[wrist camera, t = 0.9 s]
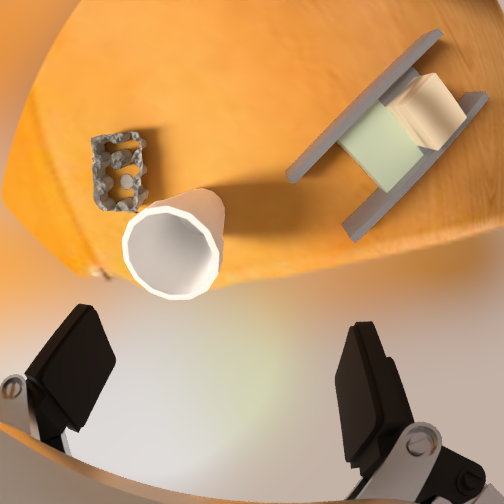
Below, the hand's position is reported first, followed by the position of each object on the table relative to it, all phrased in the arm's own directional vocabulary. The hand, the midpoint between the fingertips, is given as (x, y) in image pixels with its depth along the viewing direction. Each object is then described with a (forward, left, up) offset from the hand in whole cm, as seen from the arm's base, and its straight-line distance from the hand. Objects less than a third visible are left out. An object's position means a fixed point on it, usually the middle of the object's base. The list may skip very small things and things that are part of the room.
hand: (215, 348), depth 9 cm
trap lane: (-14, +13, -27) cm, 33 cm away
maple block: (-17, +14, -24) cm, 32 cm away
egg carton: (+4, -17, -28) cm, 33 cm away
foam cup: (+6, -5, -28) cm, 29 cm away
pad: (-11, +11, -27) cm, 31 cm away
